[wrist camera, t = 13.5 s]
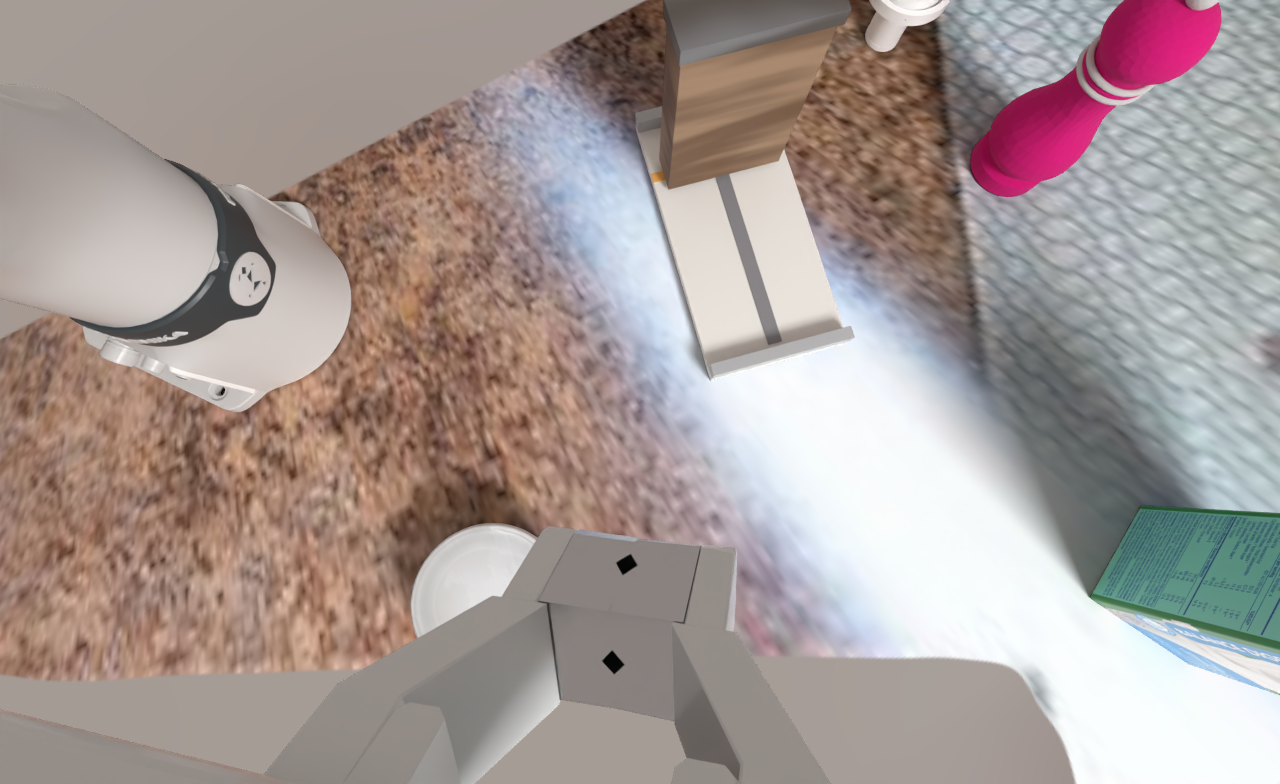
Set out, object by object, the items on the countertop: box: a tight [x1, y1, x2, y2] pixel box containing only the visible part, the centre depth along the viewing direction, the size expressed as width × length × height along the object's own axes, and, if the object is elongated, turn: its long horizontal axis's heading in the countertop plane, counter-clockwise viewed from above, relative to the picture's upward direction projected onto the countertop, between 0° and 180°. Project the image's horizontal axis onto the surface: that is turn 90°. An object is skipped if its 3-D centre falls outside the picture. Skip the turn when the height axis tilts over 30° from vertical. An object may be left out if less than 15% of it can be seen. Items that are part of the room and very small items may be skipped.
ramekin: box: [410, 523, 537, 638], centre depth 45 cm, size 11×11×5 cm
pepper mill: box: [971, 0, 1221, 197], centre depth 43 cm, size 7×7×20 cm
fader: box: [659, 0, 852, 190], centre depth 43 cm, size 4×10×17 cm, turn 105°
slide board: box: [635, 106, 855, 381], centre depth 51 cm, size 24×12×2 cm, turn 15°
